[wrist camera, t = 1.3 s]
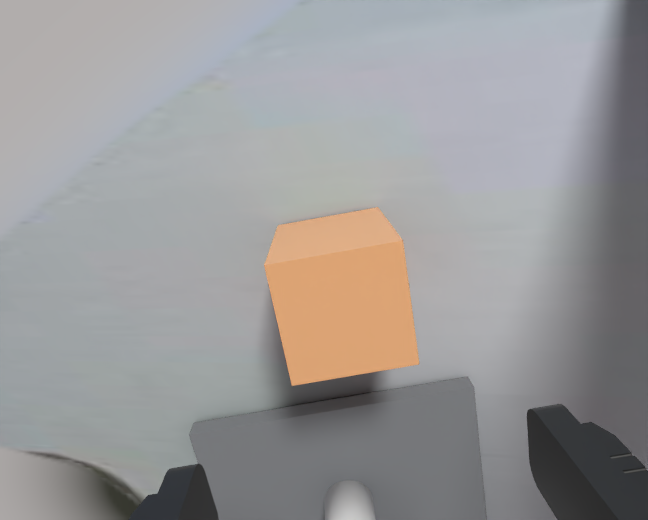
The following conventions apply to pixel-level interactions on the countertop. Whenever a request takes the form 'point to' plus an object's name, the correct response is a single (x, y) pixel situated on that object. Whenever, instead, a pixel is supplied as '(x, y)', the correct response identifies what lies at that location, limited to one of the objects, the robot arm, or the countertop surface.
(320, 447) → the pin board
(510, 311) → the countertop surface
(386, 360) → the peach foam cube
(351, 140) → the countertop surface
